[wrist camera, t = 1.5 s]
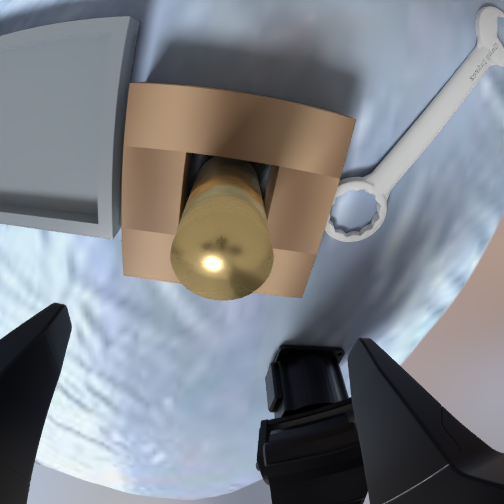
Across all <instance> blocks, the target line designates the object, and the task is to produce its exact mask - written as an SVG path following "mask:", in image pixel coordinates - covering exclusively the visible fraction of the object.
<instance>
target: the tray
mask: <svg viewBox="0 0 504 504" xmlns="http://www.w3.org/2000/svg"><path fill="white" fill-rule="evenodd" d="M139 26H140V21H138V20H136V19H135V18H133V17H131V16H120V17H104V18H93V19H84V20H75V21H68V22H62V23H55V24H50V25H44V26H39V27H34V28H30V29H25V30H21V31H17V32H13V33H9V34H5V35H2V36H0V224H7V225H14V226H21V227H28V228H35V229H42V230H49V231H56V232H63V233H70V234H77V235H84V236H91V237H98V238H105V239H112V240H113V238H114V237H115V235H116V234H117V232H118V231H119V229H120V228H121V226H122V167H123V148H124V134H125V122H126V111H127V102H128V93H129V85H130V80H131V72H132V66H133V59H134V53H135V47H136V42H137V36H138V31H139Z"/></svg>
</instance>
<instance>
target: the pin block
mask: <svg viewBox="0 0 504 504" xmlns="http://www.w3.org/2000/svg"><path fill="white" fill-rule="evenodd" d="M355 122H356V119H353V118H351V117H348V116H345V115H342V114H340V113H336V112H333V111H329V110H325V109H321V108H317V107H313V106H309V105H305V104H301V103H296V102H292V101H287V100H282V99H277V98H272V97H267V96H262V95H256V94H251V93H245V92H238V91H232V90H225V89H218V88H210V87H201V86H192V85H181V84H169V83H154V82H137V83H130V85H129V93H128V102H127V111H126V122H125V134H124V148H123V167H122V257H123V275H125V276H131V277H138V278H144V279H151V280H158V281H165V282H172V283H179V284H182V283H181V282H180V281H179V279H178V278H177V276H176V275H175V273H174V271H173V268H172V265H171V260H170V252H171V246H172V243H173V240H174V237H175V234H176V231H177V228H178V225H179V223H180V220H181V217H182V214H183V212H184V209H185V206H186V197H187V188H188V180H189V171H190V163H191V155H192V153H197V154H205V155H212V156H219V157H226V158H233V159H239V160H246V161H252V162H258V163H264V164H270V165H271V167H270V172H269V176H268V181H267V186H266V190H265V195H264V200H263V204H264V209H265V214H266V218H267V223H268V228H269V233H270V238H271V242H272V247H273V254H274V262H273V267H272V270H271V273H270V275H269V277H268V278H267V280H266V281H265V282H264V283H263V284H262V286H261V287H259V288H258V289H257V290H256V291H254V292H252V293H258V294H267V295H277V296H286V297H296V298H302V296H303V293H304V290H305V287H306V284H307V281H308V279H309V276H310V273H311V270H312V267H313V264H314V261H315V258H316V255H317V252H318V249H319V246H320V243H321V239H322V236H323V233H324V230H325V227H326V224H327V220H328V217H329V214H330V211H331V207H332V204H333V201H334V198H335V194H336V191H337V187H338V184H339V181H340V177H341V174H342V170H343V167H344V163H345V159H346V156H347V152H348V148H349V145H350V141H351V137H352V133H353V130H354V126H355Z"/></svg>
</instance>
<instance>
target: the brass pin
mask: <svg viewBox="0 0 504 504" xmlns="http://www.w3.org/2000/svg"><path fill="white" fill-rule="evenodd" d="M170 260H171V265H172V268H173V271H174V273H175V275H176V276H177V278H178V279H179V281H180V282H181V283H182V284H183V285H184V286H185V287H186V288H187V289H189V290H190V291H192V292H193V293H195V294H197V295H199V296H202V297H204V298H208V299H213V300H234V299H238V298H242V297H244V296H247V295H249V294H251V293H252V292H254V291H256V290H257V289H258V288H259V287H261V286H262V284H263V283H264V282H265V281H266V280H267V278H268V277H269V275H270V273H271V270H272V267H273V262H274V254H273V247H272V242H271V238H270V233H269V228H268V223H267V218H266V214H265V209H264V204H263V199H262V195H261V190H260V185H259V181H258V177H257V173H256V171H255V169H254V168H253V166H252V165H251V164H250V163H249V162H248V161H246V160H239V159H233V158H226V157H219V156H215V157H213V158H211V159H209V160H208V161H207V162H206V163H204V165H203V166H202V167H201V168H200V170H199V172H198V175H197V177H196V180H195V182H194V185H193V188H192V190H191V193H190V195H189V198H188V201H187V203H186V206H185V209H184V212H183V214H182V217H181V220H180V223H179V225H178V228H177V231H176V234H175V237H174V240H173V243H172V246H171V252H170Z"/></svg>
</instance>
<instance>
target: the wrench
mask: <svg viewBox="0 0 504 504" xmlns="http://www.w3.org/2000/svg"><path fill="white" fill-rule="evenodd" d="M497 17H504V13H503V12H502V11H501V10H499V9H498V8H496V7H492V6H487V7H483V8H481V9H480V10H479V11H478V12H477V14H476V18H475V31H476V36H477V45H476V46H475V48H474V49H473V50H472V52H471V53H470V54H469V55H468V57H467V58H466V59H465V61H464V62H463V63H462V64H461V66H460V67H459V68H458V69H457V71H456V72H455V73H454V74H453V76H452V77H451V78H450V80H449V81H448V82H447V83H446V85H445V86H444V87H443V88H442V89H441V91H440V92H439V93H438V94H437V96H436V97H435V98H434V99H433V101H432V102H431V103H430V104H429V105H428V107H427V108H426V109H425V110H424V112H423V113H422V114H421V115H420V116H419V118H418V119H417V120H416V121H415V122H414V124H413V125H412V126H411V127H410V128H409V130H408V131H407V132H406V133H405V134H404V135H403V137H402V138H401V139H400V140H399V141H398V143H397V144H396V145H395V146H394V147H393V148H392V150H391V151H390V152H389V153H388V154H387V155H386V157H385V158H384V159H383V160H382V161H381V162H380V164H379V165H378V166H377V167H376V168H375V169H374V171H373V172H372V173H371V174H369V175H367V176H365V177H349V178H345V179H342V180H340V181H339V184H338V187H337V191H336V194H335V198H334V201H333V204H332V206H333V205H334V202H335V199H336V197H339V196H342V195H344V194H345V193H346V192H347V191H348V190H354V191H358V190H361V189H364V190H366V191H367V192H368V193H370V194H373V195H374V197H375V199H376V201H377V204H376V209H377V213H376V214H375V215H374V216H373V217H372V220H371V223H370V224H369V225H366V226H364V227H363V228H362V229H361V230H360V231H359V232H358V231H351V232H348V233H345V232H344V231H342V230H341V229H334V225H333V222H331V221H330V220H329V219H330V214H329V217H328V220H327V224H326V227H325V231H326V232H327V233H328V234H329V235H330V236H331V237H333V238H334V239H336V240H339V241H344V242H355V241H360V240H363V239H365V238H367V237H369V236H371V235H372V234H373V233H375V232H376V231H377V230H378V229H379V228H380V226H381V225H382V223H383V221H384V219H385V217H386V212H387V203H386V202H387V199H388V197H389V194H390V191H391V189H392V188H393V187H394V185H395V184H396V183H397V182H398V181H399V180H400V178H401V177H402V176H403V175H404V174H405V173H406V171H407V170H408V169H409V168H410V167H411V166H412V164H413V163H414V162H415V161H416V160H417V159H418V157H419V156H420V155H421V154H422V153H423V151H424V150H425V149H426V148H427V147H428V145H429V144H430V143H431V142H432V140H433V139H434V138H435V137H436V136H437V134H438V133H439V132H440V131H441V129H442V128H443V127H444V126H445V124H446V123H447V122H448V121H449V119H450V118H451V117H452V116H453V114H454V113H455V112H456V110H457V109H458V108H459V107H460V105H461V104H462V103H463V101H464V100H465V99H466V97H467V96H468V95H469V93H470V92H471V91H472V90H473V88H474V87H475V86H476V84H477V83H478V81H479V80H480V79H481V77H482V76H483V75H484V73H485V72H486V71H487V69H488V68H489V67H490V66H493V65H498V66H501V67H504V47H503V46H502V44H501V42H500V41H499V39H498V38H497Z"/></svg>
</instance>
